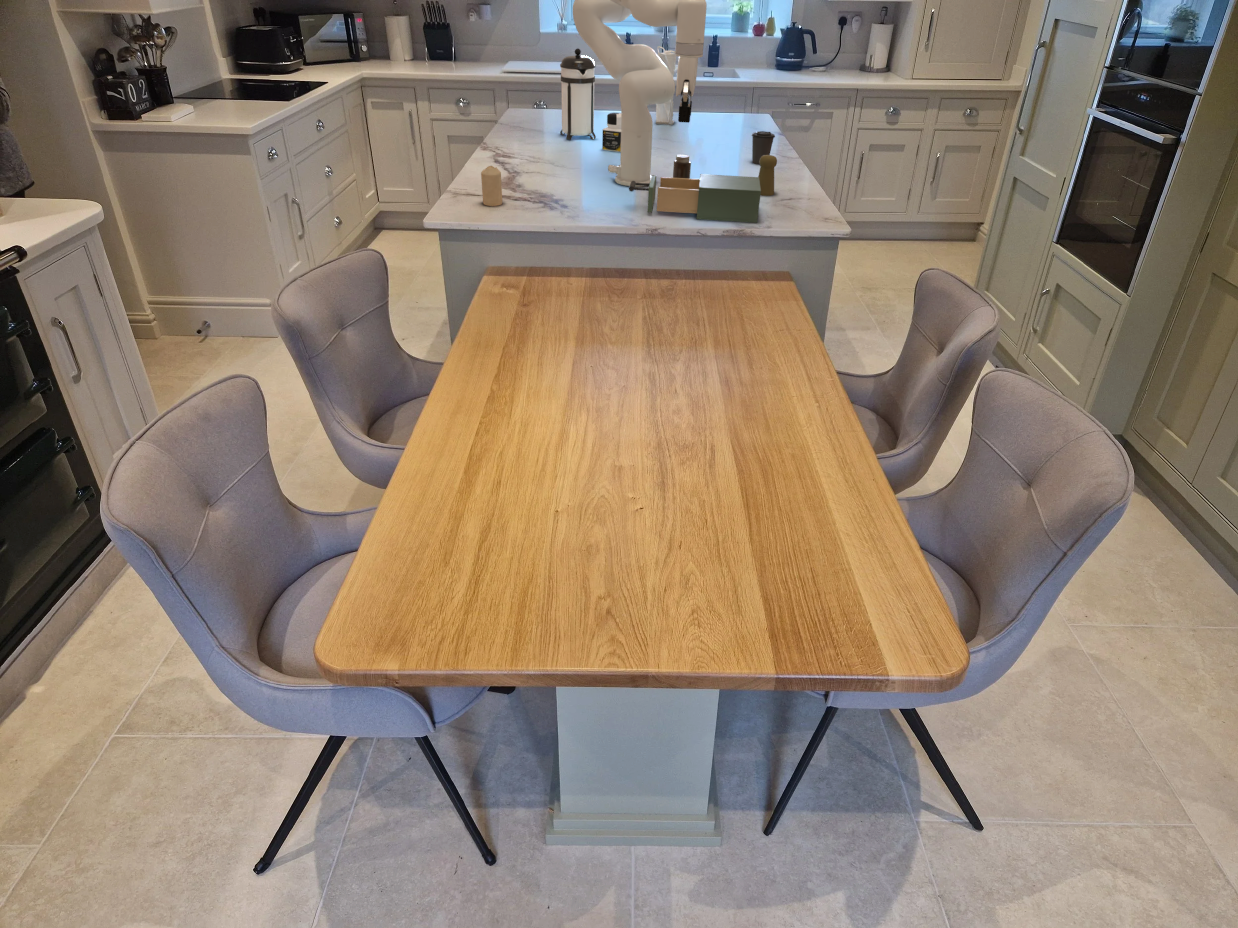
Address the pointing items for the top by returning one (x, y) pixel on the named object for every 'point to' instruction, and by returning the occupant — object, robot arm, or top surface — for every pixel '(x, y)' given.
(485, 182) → the candle
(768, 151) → the coffee cup
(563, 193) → the top surface
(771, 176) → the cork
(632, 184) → the drawer
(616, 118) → the medicine bottle
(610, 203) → the top surface
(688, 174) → the pepper mill
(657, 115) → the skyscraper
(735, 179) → the cabinet
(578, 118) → the coffee press
